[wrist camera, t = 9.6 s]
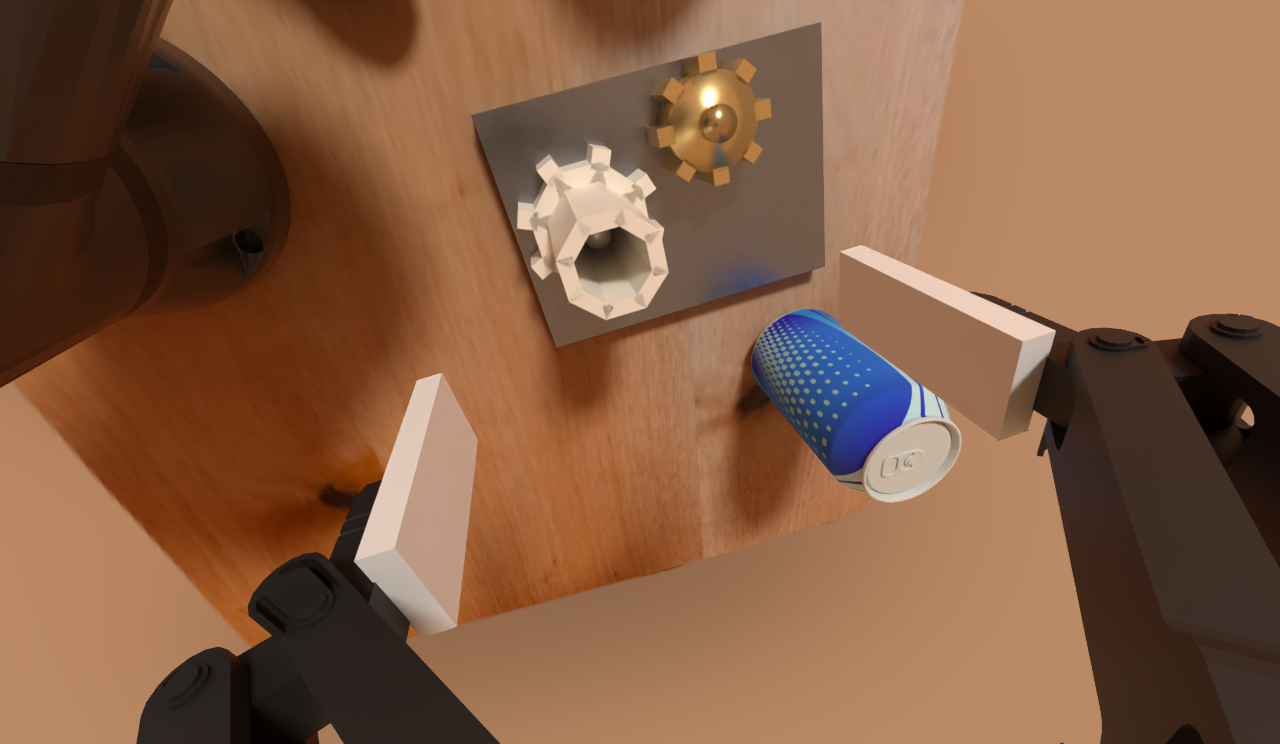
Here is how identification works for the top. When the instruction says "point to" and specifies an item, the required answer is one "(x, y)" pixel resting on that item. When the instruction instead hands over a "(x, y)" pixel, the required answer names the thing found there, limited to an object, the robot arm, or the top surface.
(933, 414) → the beer can
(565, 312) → the plate
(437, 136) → the top surface
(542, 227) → the planet gear
